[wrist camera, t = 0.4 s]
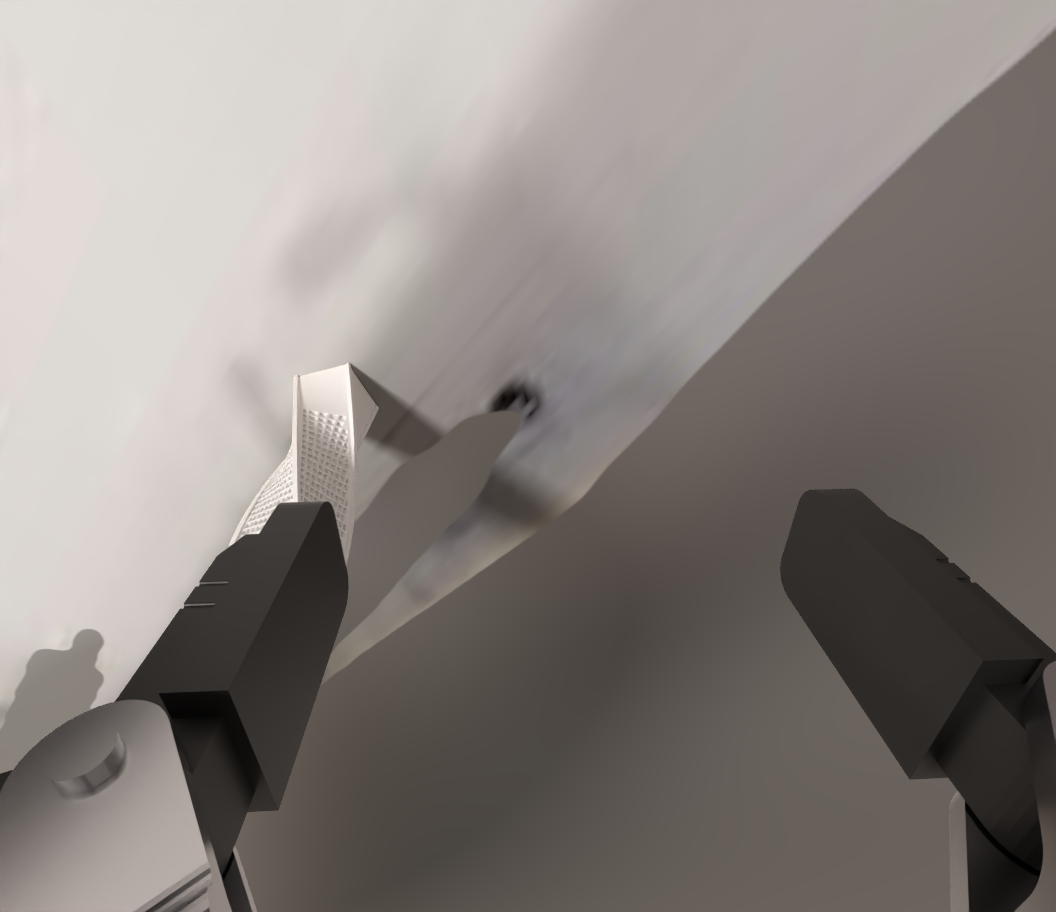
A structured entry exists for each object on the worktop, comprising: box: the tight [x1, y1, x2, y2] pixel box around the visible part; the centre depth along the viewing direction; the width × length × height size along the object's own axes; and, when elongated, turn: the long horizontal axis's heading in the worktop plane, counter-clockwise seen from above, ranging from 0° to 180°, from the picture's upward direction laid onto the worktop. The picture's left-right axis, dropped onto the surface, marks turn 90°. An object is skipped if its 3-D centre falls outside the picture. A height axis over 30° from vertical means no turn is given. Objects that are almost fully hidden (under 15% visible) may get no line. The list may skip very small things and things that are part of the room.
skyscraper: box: [229, 363, 379, 565], centre depth 38 cm, size 8×7×28 cm
